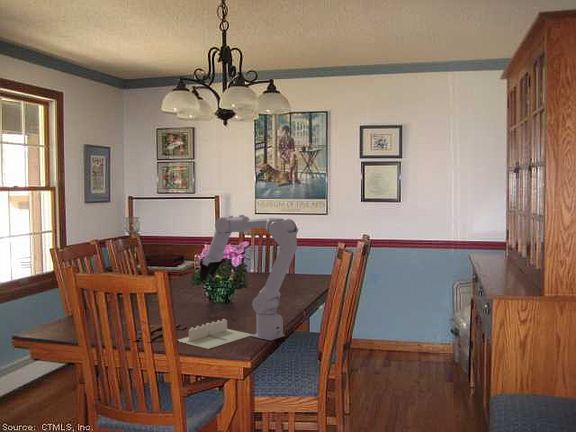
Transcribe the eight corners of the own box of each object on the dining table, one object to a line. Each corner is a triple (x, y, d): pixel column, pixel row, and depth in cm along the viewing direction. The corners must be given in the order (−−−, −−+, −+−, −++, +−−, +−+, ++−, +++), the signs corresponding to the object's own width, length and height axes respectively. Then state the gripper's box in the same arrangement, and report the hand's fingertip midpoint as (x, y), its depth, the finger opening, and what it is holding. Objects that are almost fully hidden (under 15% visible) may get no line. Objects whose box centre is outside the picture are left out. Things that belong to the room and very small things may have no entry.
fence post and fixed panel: (211, 335, 213) (211, 323, 213) (191, 341, 205) (190, 328, 205) (208, 335, 214) (208, 322, 214) (188, 341, 206) (187, 328, 206)
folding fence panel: (211, 335, 214) (211, 322, 213) (210, 334, 214) (209, 322, 214) (227, 330, 220) (226, 318, 220) (225, 330, 220) (225, 318, 220)
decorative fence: (188, 329, 227) (153, 326, 231) (187, 324, 227) (153, 322, 231) (159, 345, 205) (121, 342, 209) (158, 340, 205) (121, 337, 209)
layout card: (253, 335, 214) (253, 334, 214) (208, 349, 197) (208, 348, 197) (221, 328, 225) (221, 327, 225) (175, 341, 207) (175, 340, 207)
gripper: (217, 238, 229) (206, 267, 233) (200, 245, 215) (189, 277, 219) (232, 245, 228) (221, 275, 231) (216, 253, 214) (205, 285, 218)
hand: (206, 276), depth 225 cm, fingers open, 7 cm apart
